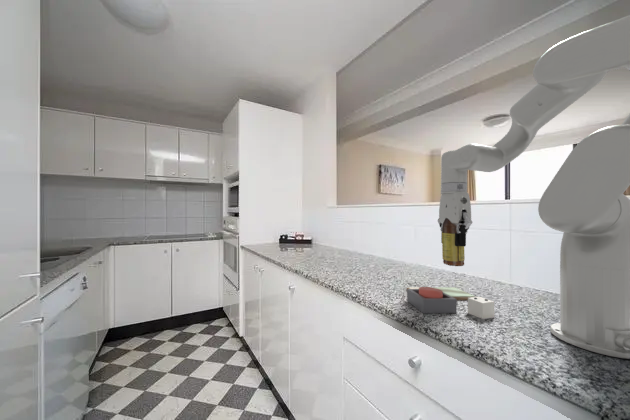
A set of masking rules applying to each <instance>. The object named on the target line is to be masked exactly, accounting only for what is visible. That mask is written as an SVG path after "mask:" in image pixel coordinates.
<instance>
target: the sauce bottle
mask: <svg viewBox="0 0 630 420" xmlns="http://www.w3.org/2000/svg"><path fill="white" fill-rule="evenodd" d="M446 208H447V204H446ZM459 223H461V222H459ZM459 227H461V226H459ZM441 233H442V243H441V245H442V246H441V249H442V254H441V255H442V263H443V264H444V265H447V266H450V267H451V266H452V267H463V266H465V246H455V233H457V232H456V228H455V224H453V223H451V221H450V220H449V219H448V218H445V220H444V222H443V227H442V231H441Z"/></svg>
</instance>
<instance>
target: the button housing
mask: <svg viewBox="0 0 630 420" xmlns="http://www.w3.org/2000/svg"><path fill="white" fill-rule="evenodd" d="M406 289H407V288H406ZM406 292H407V293H406V295H407V296H406V302H408V303H410V305H412V306H413V307H415V308H416V309H417V310H419V312H421V313H422V314H457V313H458V312H457V309H458V308H457V306H458V305H457V302H458V300H457V299H455V298H453V297H451V296H449V295H447V294H445V293H443V298H424V297H422V296H421V295H419V289H407V290H406Z"/></svg>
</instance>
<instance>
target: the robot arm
mask: <svg viewBox="0 0 630 420" xmlns="http://www.w3.org/2000/svg"><path fill="white" fill-rule="evenodd" d="M621 69H625V70H628V71H629V72H630V14H629V15H626V16H623V17H621V18H619V19H616V20H613V21H611V22H607V23H605V24H601V25H599V26H597V27H594V28H592V29H589V30H586V31H583V32H581V33H578V34H576V35H573V36H570V37H569V38H567V39H565V40H562V41H560V42H558V43H557V44H555V45H553V46H552V47H550V48H549V49H548V50H546V51H545V52H544V53H542V55H541V56H540V57H539V58H538V60H537V61H536V62H535V65H534V67H533V69H532V77H533V79H534V81H536V83H537V84H535V85H534V86H533V87H532V88H531V89H530V90H529V91H527V93H526V94H524V95H523V96H522V97H521V98H520V99H519V100H518V101H516V103H514V104H513V105H512V106H511V107H510V109H509V115H510V118H511V125H510V126H511V127H510V128H509V130H508V132H506V134H505V135H504V136H503V137H502V138H501V139H499V140H498V141H497V142H496V143H495V144H493V146H491V145H485V144H478V143H469V144H467V145H463V146H462V147H459V148H457V149H455V150H449V151H448V150H447V151H446V152H444V153H442V155H441V156H440V157H441V160H440V162H441V163H440V164H441V165H440V199H439V209H438V213H439V214H438V219H437V223H438V224H439V229H440V232H441V233H440V234H441V236H440V237H441V240H440V241H441V242H440V243H441V244H442V227H443V222H444V220H445V218H448V219H449V220H450V221H451V223H453V224H455V228H456V232H457V233H455V246H464V247H466V245H467V234H468V230H470V227H471V226H472V225H473V221H472V207H471V206H472V205H471V199H470V194H469V192H468V171H475V172H484V173H491V172H493V173H494V172H496V171H498V170H500V169H502V168H504V167H505V166H506V165H508V164H510V163H511V162H512V161H514V160H516V158H518V157H519V156H520V155H522V153H524V152H525V150H526V149H528V147H529V146H530V145H531V143H532V141H533V140H534V139H535V137H536V135H537V133H538V131H540V129H541V128H543V127H544V126H545V125H547V124H548V123H549V122H550V121H552V120H554V118H556V117H557V116H558V115H559V114H561V113H562V112H563V111H565V110H566V109H568V108H569V107H570V106H571V105H572V104H574V103H576V102H577V101H578V100H579V99H581V98H582V97H583V96H584V95H586V94H587V93H588V92H590V91H591V90H592V89H594V88H595V87H596V86H597V85H598V84H599V83H601V82H602V81H603V79H604V78H605V77H606V76H607V75H608V72H612V71H614V70H615V71H616V70H621ZM629 187H630V113H628V116H626V118H625V119H624V120H623V122H622V123H621V124H614V125H610V126H606V127H603V128H600V129H598V130H596V131H594V132H592V133H590V134H589V135H587V136H586V137H584V138H583V139H582V140H581V141H580V142H578V143H577V144H576V145H575V146H574V148H573V149H572V150H571V151H570V153H569V154H568V156H567V158H566V159H565V160H564V162H563V163H562V164H561V166H560V168H559V169H558V171H556V173H555V175H554V176H553V178H552V180H551V181H550V183H549V184H548V186H547V188H546V189H545V190H544V192H543V193H542V196H541V197H540V199H539V202H538V206H537V208H538V209H537V211H538V215H539V218H540V220H541V221H542V222H543V223H544V224H545V225H546V226H548V227H549V228H551V229H552V230H555V231H558V232H563V234H562V239H561V243H560V251H559V252H560V254H559V255H560V257H559V259H560V260H559V280H560V281H559V295H560V296H559V305H560V306H559V307H560V308H559V321H560V322H557V323H552V324H550V329H549V330H550V332H551V334H552V335H553V336H555V337H556V338H557V339H559V340H561V341H563V342H565V343H568V344H569V345H573V346H575V347H576V348H577V347H578V348H580V349H582V350H583V349H584V350H586V351H590V352H592V353H596V354H600V355H604V356H605V355H606V356H608V357H613V358H619V359H627V360H630V199H629V197H627V195H625V194H624V193H625V192H626V190H628V188H629ZM446 204H447V208H446ZM459 222H461V223H459ZM459 226H461V227H459Z"/></svg>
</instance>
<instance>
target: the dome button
mask: <svg viewBox="0 0 630 420" xmlns="http://www.w3.org/2000/svg"><path fill="white" fill-rule="evenodd" d="M419 295H421V296H422V297H424V298H443V291H442V290H440V289H437V288H433V287H430V286H422V287H421V286H420V288H419Z"/></svg>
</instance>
